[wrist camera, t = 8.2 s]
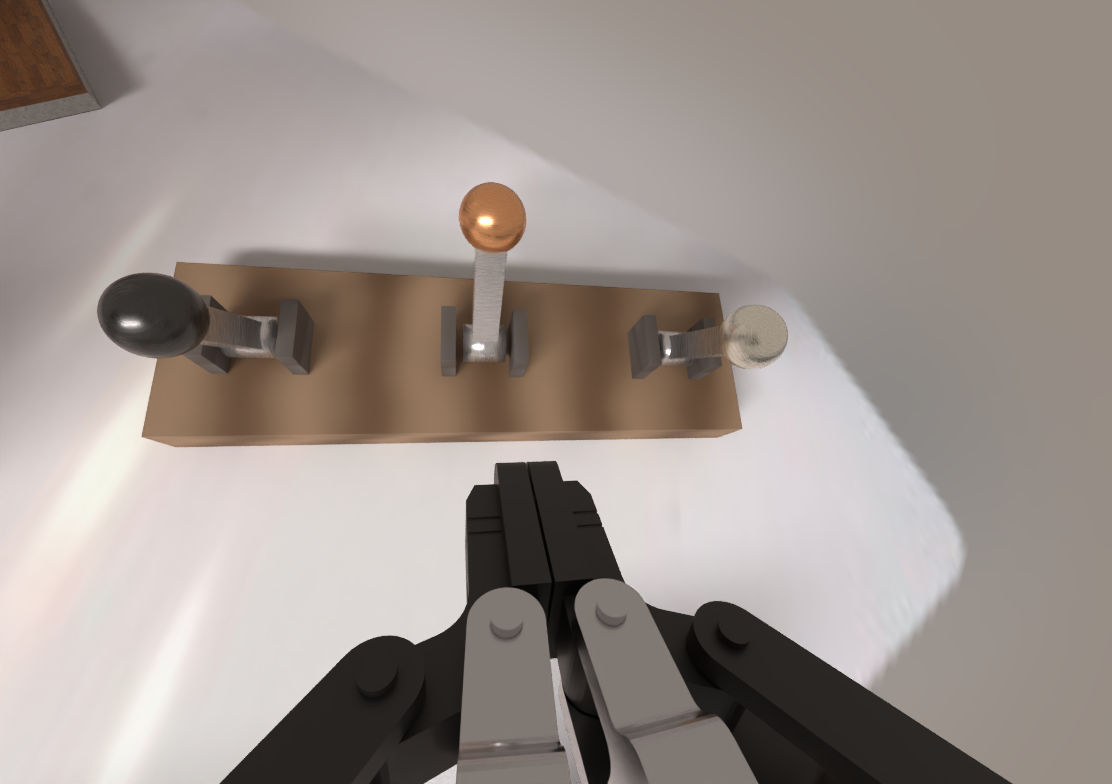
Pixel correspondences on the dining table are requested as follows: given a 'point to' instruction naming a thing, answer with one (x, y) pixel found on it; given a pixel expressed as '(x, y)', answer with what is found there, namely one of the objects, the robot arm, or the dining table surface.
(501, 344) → the orange lever
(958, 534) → the dining table surface
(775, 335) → the cream lever
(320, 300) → the switch panel
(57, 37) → the display case
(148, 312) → the black lever
